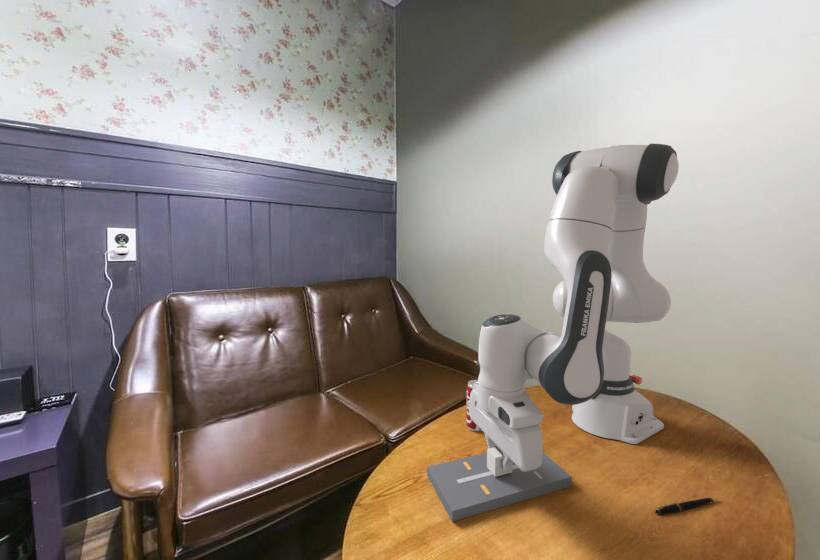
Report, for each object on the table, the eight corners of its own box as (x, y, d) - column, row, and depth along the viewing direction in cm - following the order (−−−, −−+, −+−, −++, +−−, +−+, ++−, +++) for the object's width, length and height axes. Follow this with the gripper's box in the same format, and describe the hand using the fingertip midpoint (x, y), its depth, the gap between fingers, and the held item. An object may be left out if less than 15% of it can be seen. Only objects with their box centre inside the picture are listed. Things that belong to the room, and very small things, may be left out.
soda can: (486, 433, 82) (487, 388, 81) (466, 431, 83) (466, 386, 82) (486, 422, 87) (486, 379, 86) (466, 420, 88) (466, 378, 87)
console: (531, 450, 75) (531, 441, 75) (571, 486, 64) (571, 476, 63) (427, 475, 67) (427, 466, 67) (452, 521, 56) (452, 510, 55)
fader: (503, 462, 67) (503, 444, 67) (512, 472, 64) (512, 453, 64) (486, 467, 66) (487, 448, 66) (495, 476, 63) (495, 457, 63)
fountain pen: (714, 499, 60) (714, 491, 60) (721, 504, 59) (722, 496, 59) (651, 513, 57) (652, 505, 57) (657, 518, 56) (658, 510, 56)
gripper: (462, 378, 72) (462, 436, 74) (519, 425, 53) (517, 503, 54) (486, 375, 74) (486, 431, 76) (550, 419, 55) (548, 494, 56)
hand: (499, 462), depth 65 cm, fingers open, 3 cm apart
